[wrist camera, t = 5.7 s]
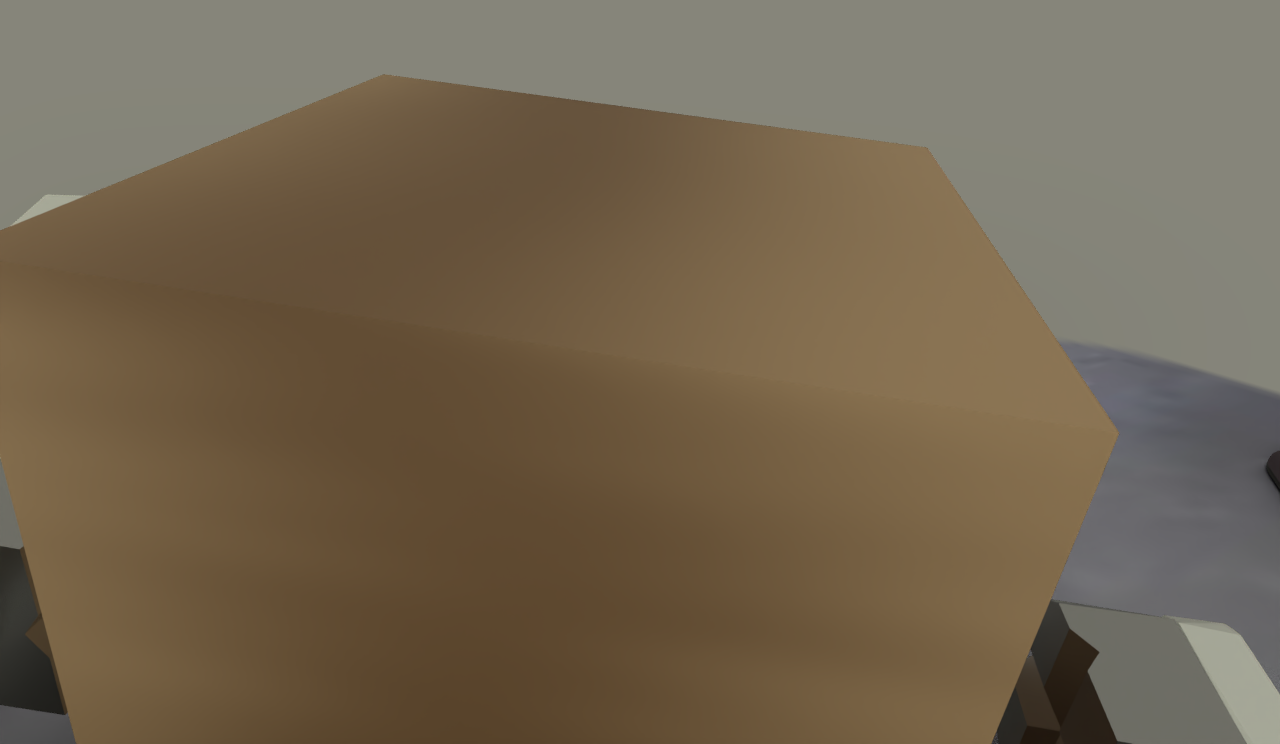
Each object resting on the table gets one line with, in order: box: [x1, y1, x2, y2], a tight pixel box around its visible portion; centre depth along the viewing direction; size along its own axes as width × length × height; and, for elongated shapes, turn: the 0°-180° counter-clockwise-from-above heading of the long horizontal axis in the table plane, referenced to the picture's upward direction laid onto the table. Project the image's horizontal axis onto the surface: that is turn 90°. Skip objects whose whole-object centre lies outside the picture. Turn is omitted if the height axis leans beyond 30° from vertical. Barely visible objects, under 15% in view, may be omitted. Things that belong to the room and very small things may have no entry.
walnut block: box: [0, 74, 1119, 744], centre depth 8 cm, size 5×5×9 cm
